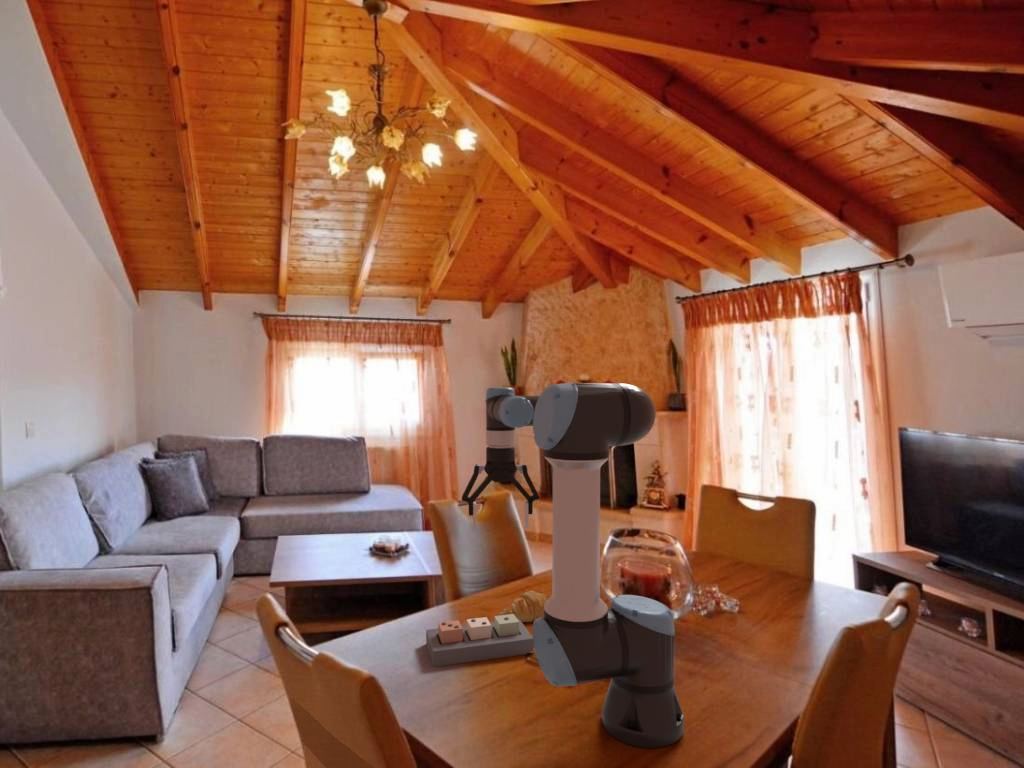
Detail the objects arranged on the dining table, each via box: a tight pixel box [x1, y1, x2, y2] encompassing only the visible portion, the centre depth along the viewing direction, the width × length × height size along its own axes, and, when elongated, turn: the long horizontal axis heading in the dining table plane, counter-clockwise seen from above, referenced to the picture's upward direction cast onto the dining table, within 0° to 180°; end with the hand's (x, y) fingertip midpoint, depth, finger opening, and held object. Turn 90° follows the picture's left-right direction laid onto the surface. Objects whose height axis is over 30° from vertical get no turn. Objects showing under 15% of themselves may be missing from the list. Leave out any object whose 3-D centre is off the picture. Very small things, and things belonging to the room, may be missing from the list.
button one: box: [493, 614, 519, 637], centre depth 144 cm, size 5×5×3 cm
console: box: [425, 619, 534, 668], centre depth 142 cm, size 12×24×4 cm, turn 106°
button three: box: [437, 619, 463, 644], centre depth 140 cm, size 5×5×3 cm
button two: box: [466, 616, 491, 640], centre depth 142 cm, size 5×5×3 cm
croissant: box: [497, 590, 552, 623], centre depth 162 cm, size 21×10×8 cm
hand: (500, 527), depth 153 cm, fingers open, 13 cm apart
